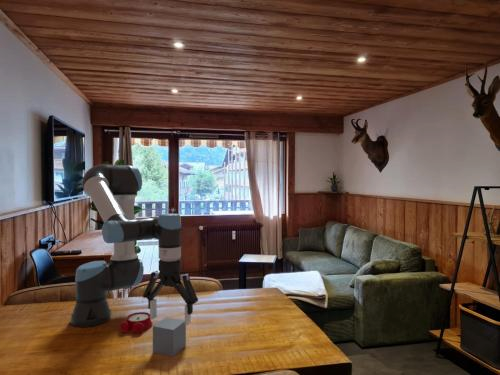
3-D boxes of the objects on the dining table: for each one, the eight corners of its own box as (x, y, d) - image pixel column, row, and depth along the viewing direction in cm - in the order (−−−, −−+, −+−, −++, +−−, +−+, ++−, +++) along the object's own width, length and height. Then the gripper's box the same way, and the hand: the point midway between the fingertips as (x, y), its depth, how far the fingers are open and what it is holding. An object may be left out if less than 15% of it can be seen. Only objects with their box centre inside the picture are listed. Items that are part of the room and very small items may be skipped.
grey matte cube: (152, 352, 113) (152, 326, 113) (166, 342, 121) (166, 317, 121) (173, 356, 111) (173, 329, 111) (185, 345, 118) (185, 320, 118)
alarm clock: (157, 312, 139) (140, 318, 125) (156, 328, 138) (138, 336, 124) (134, 310, 141) (115, 316, 127) (132, 326, 140) (112, 334, 125)
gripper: (132, 258, 116) (132, 320, 116) (197, 264, 108) (197, 330, 108) (146, 254, 123) (146, 312, 123) (207, 259, 115) (207, 321, 115)
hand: (170, 320), depth 115 cm, fingers open, 13 cm apart
